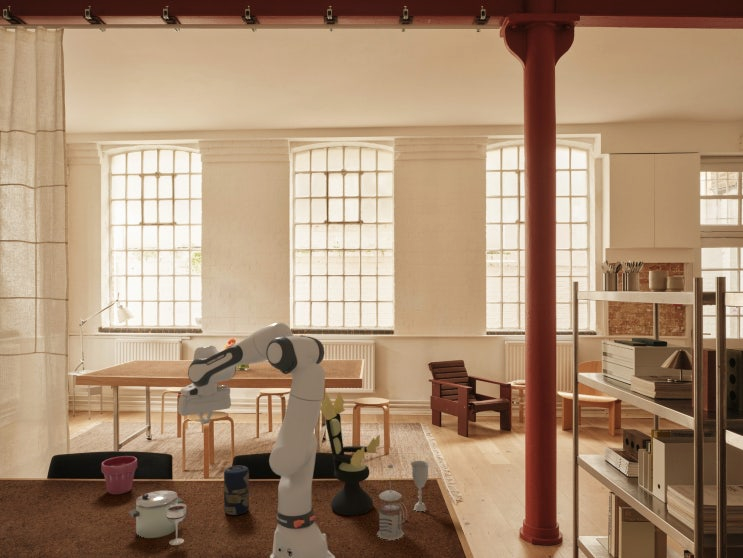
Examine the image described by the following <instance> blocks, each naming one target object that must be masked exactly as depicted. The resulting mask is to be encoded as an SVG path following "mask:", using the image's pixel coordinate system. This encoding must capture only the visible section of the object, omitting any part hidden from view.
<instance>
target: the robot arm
mask: <svg viewBox="0 0 743 558" xmlns="http://www.w3.org/2000/svg"><path fill="white" fill-rule="evenodd" d="M324 358H325V348H324V344H323V343H322V342H321V341H320V340H319V339H317V338H315V337H312V336H308V335H307V336H306V335H299V336H298V335H294V334H293V332H292V329H291V328H290V327H289V326H288V325H287V324H286V323H285V322H284V323H283V322H275V323H271V324H269V325H266V326H263V327H261V328H259V329H257V330H256V331H254V332H253V333H252V334H249V335H247V336H246V337H245V338H243V339H241V340H240V341H238V342H236V343H234V344H233V345H231V346H229V347H227V348H226V349H224V350H221V351H219V350H218V349H217V348H216V346H214V345H206V346H200V347H197V348H195V350H194V353H193V360H192V362H191V363H190V365H189V367H188V370H187V376H188V379H189V381H190V382H191V383H190V384H188V385H186V386H184V387H181V389H180V394H181V395H179V397H178V406H177V410H178V411H177V412H178V414H179V415H181V416H183V417H186V416H190V415H197V416H198V417H199V419H200V424H201V425H206V424H210V419H211V418H212V417H213V412H216V411H222V410H227V409H228V410H229V409H230V408H231V406H232V403H231V402H232V401H231V395H230V394H231V388H230V386H229V385H227V384H223V385H218V383H221V382H226V381H229V380H232V379H233V378H234V377H235V375H236V371H237V366H241V365H251V364H257V363H261V362H262V363H263V362H266V361H267V362H268V363H269V364H270V365H271V366H272V367H273V368H275V369H277V370H278V371H280V372H281V373H282V374H283V375H288V374H290V376H291V378H292V382H291V385H290V386H291V387H290V391H289V395H288V400H287V404H286V405H287V406H286V410H285V414H284V418H283V419H282V423H281V426H280V428H279V431H278V433H277V436H276V440H275V443H274V445H273V448H272V450H271V453H270V455H269V459H268V463H269V466H270V469H271V471H272V472H273V473H274V474H276V475H277V476H280V480H279V483H278V488H277V494H278V495H277V502H278V503H277V505H278V506H277V510H276V522H277V525H276V528H275V530H274V533H273V545H272V553H271V554H270V555H269V558H336V556H335V555H334V554H333V553H331V551H330V550H329V548H328V542H327V534H326V533H323V532H322V531H321V530H320V527H319V526H318V524H317V523H316V520H317V518H316V517H317V515H315V511H314V508H313V507H312V497H313V496H312V494H313V493H312V488H313V478H314V471H315V463H316V457H317V456H316V455H317V450H318V446H319V440H318V438H317V435H316V433H314V432H315V429H316V426H317V424H318V421H319V417H320V413H321V410H320V409H321V406H322V404H323V400H324V395H325V393H324V392H325V382H326V371H325V369H324V368H323V366H321V365H320V364H321V363H322V361H323V360H324ZM204 413H206V414H207V415H206V417H205V418H204V417H203V416H204Z"/></svg>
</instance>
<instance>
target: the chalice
mask: <svg viewBox="0 0 743 558" xmlns="http://www.w3.org/2000/svg"><path fill="white" fill-rule="evenodd" d="M410 465H411V476H412V480H413V482H414V485H415V486H416V487H417V488H418V491H417V493H418V496H417V499H418V502H416V503H415V504H414V508H413V511H414V510H416V511H415V512H417V511H424V512H426V511H427V508H426V505H425V503H424V502H423V501H422V498H423V496H422V493H423V492H422V488H424V486H425V484H426V483H427V480H428V478H429V465H430V463H429V462H427V461H423V460H413V461H411V462H410ZM425 510H426V511H425Z"/></svg>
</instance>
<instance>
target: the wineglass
mask: <svg viewBox="0 0 743 558" xmlns="http://www.w3.org/2000/svg"><path fill="white" fill-rule="evenodd" d="M166 509H167V512H166V517H167V519H168V520H169V521H170V522H173V523H174V524H175V528H176V530H175V538H173V539H171V540H170V541H169V542H168V543H169V545H171V546H178V545H181V544H183V543H184V542H185V539H183V538H179V537H178V530H179V529H178V527H179V526H178V525H179V523H180V522H182V521H183V520H184V519H185V518H186V516H187V512H188V511H187V504H185V503H184V502H183V503H176V504H172V505H169V506H168V507H167V508H166Z"/></svg>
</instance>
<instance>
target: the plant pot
mask: <svg viewBox="0 0 743 558" xmlns="http://www.w3.org/2000/svg"><path fill="white" fill-rule="evenodd" d="M136 469H138V459H137V457H135V456H133V455H131V456H130V455H124V456H123V455H122V456H115V457H110V458H108V459H105V460H104V461H102V462H101V473H102V474H103V476H104V481H105V485H106V489H107V493H108V494H111V495H120V494H121V495H122V494H125V493H128V492H130V491H131V490H132V486H133V481H134V477H135V472H136Z"/></svg>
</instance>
